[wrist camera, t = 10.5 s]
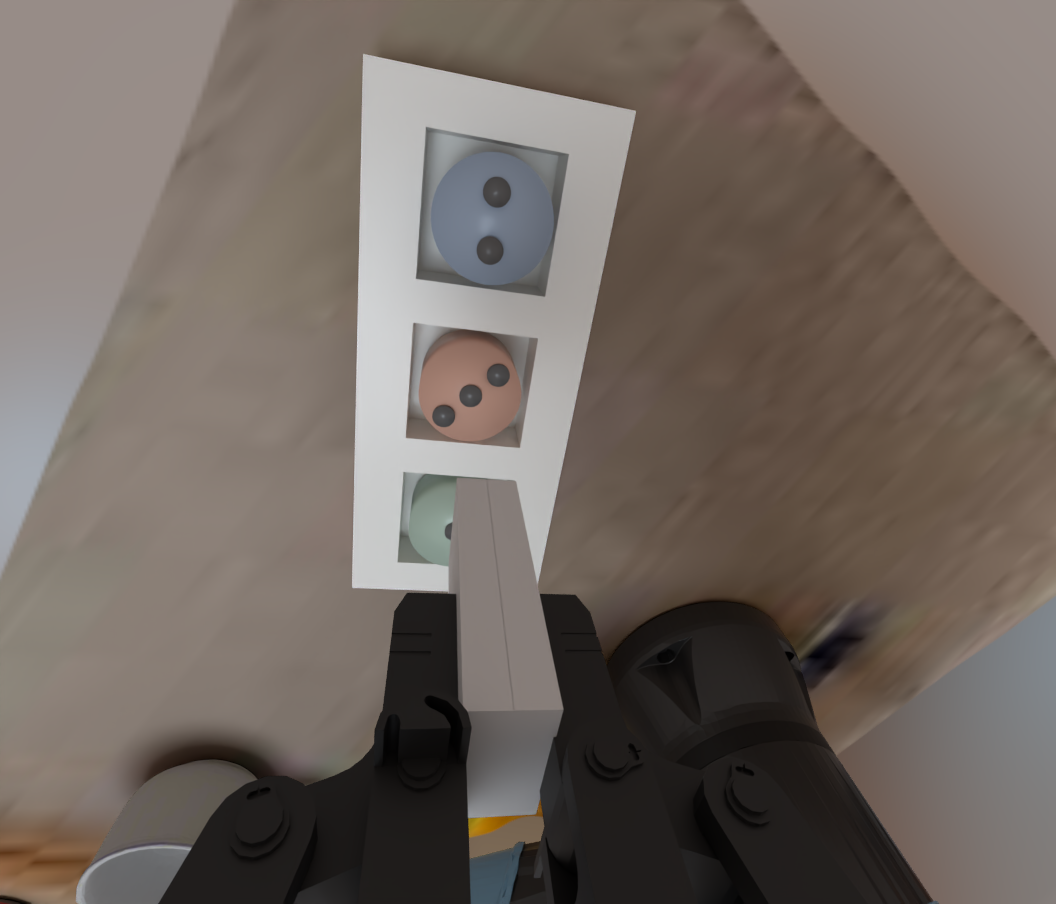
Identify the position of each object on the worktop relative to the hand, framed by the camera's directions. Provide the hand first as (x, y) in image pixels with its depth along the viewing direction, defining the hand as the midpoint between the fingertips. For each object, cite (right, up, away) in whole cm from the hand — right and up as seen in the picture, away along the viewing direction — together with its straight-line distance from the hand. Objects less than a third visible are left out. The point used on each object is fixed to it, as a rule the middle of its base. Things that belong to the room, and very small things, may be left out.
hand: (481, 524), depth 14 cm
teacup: (-22, -24, +29) cm, 44 cm away
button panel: (-2, +6, +16) cm, 17 cm away
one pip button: (-3, -1, +19) cm, 19 cm away
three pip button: (-2, +6, +15) cm, 16 cm away
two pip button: (-1, +13, +11) cm, 16 cm away
